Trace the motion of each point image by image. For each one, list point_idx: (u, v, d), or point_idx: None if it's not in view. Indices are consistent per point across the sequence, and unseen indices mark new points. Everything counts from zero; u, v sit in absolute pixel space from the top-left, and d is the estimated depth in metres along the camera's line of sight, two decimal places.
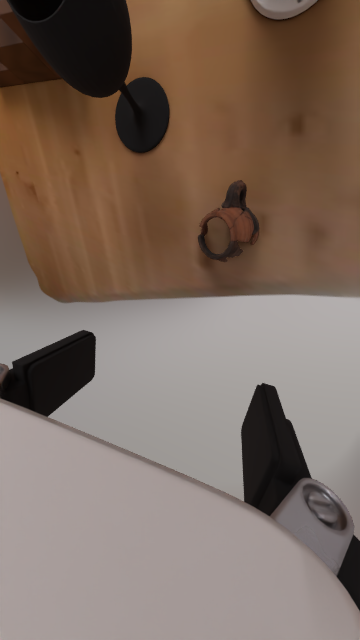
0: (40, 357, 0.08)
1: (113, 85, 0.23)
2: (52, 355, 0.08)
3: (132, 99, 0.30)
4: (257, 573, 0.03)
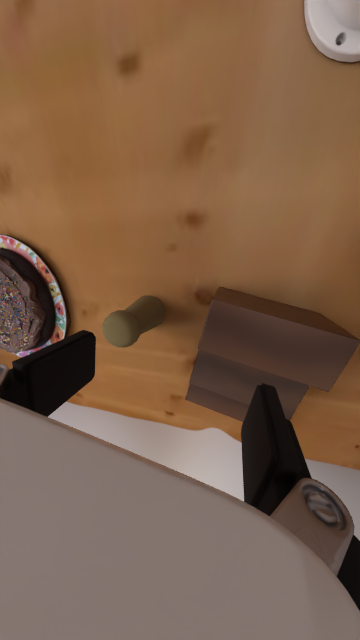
0: (40, 357, 0.08)
1: None
2: (52, 355, 0.08)
3: None
4: (257, 573, 0.03)
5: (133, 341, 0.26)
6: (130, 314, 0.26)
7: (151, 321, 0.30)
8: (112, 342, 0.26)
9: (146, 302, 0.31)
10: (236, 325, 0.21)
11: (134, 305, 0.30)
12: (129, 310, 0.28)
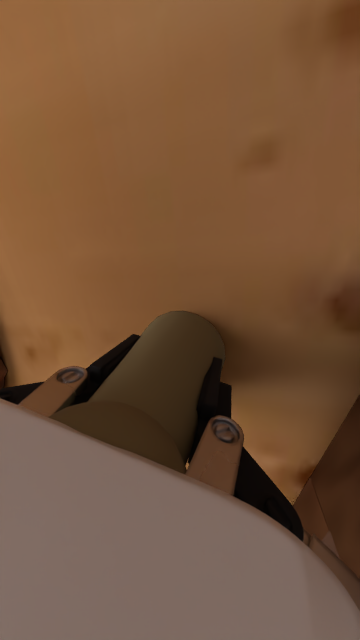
0: (110, 360, 0.08)
1: None
2: (118, 358, 0.09)
3: None
4: (257, 574, 0.03)
5: None
6: (136, 445, 0.04)
7: None
8: None
9: (183, 333, 0.10)
10: None
11: (147, 352, 0.08)
12: (129, 386, 0.06)
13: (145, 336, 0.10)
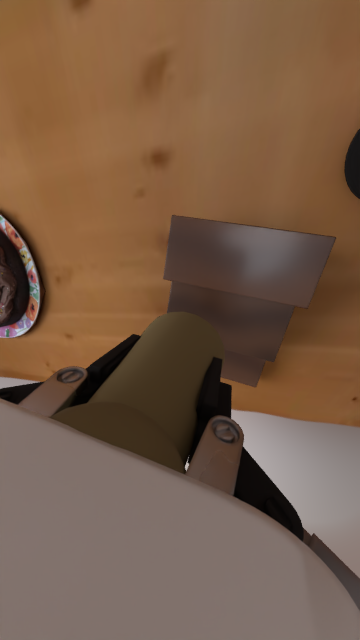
0: (111, 360, 0.08)
1: None
2: (118, 358, 0.09)
3: None
4: (257, 573, 0.03)
5: None
6: (135, 447, 0.04)
7: None
8: None
9: (182, 334, 0.10)
10: (200, 242, 0.19)
11: (146, 353, 0.08)
12: (129, 387, 0.06)
13: (145, 337, 0.10)
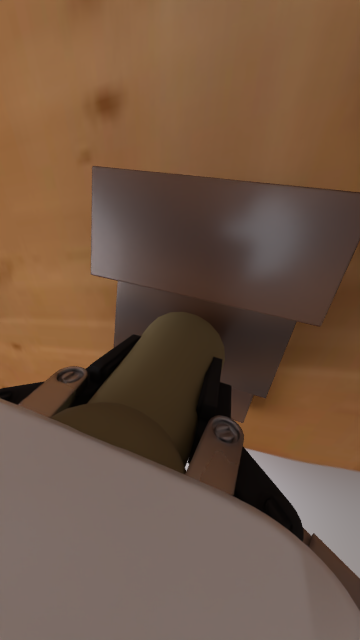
0: (111, 360, 0.08)
1: None
2: (118, 358, 0.09)
3: None
4: (257, 573, 0.03)
5: None
6: (135, 447, 0.04)
7: None
8: None
9: (182, 334, 0.10)
10: (140, 213, 0.11)
11: (146, 353, 0.08)
12: (129, 388, 0.06)
13: (145, 337, 0.10)
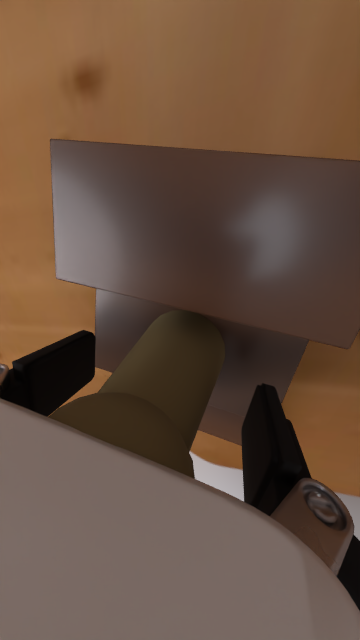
0: (40, 357, 0.08)
1: None
2: (52, 355, 0.08)
3: None
4: (257, 573, 0.03)
5: None
6: (145, 430, 0.05)
7: (209, 396, 0.09)
8: None
9: (185, 331, 0.10)
10: (112, 199, 0.09)
11: (151, 349, 0.09)
12: (136, 379, 0.07)
13: (148, 334, 0.11)
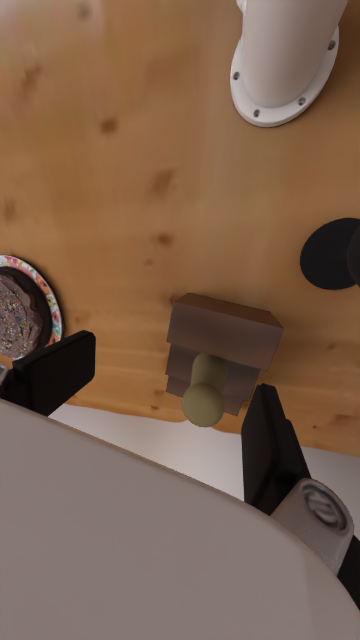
0: (40, 357, 0.08)
1: None
2: (52, 355, 0.08)
3: None
4: (257, 573, 0.03)
5: (219, 420, 0.23)
6: (214, 389, 0.23)
7: None
8: (195, 422, 0.23)
9: (214, 362, 0.29)
10: (193, 321, 0.27)
11: (205, 370, 0.27)
12: (205, 379, 0.25)
13: (201, 363, 0.29)
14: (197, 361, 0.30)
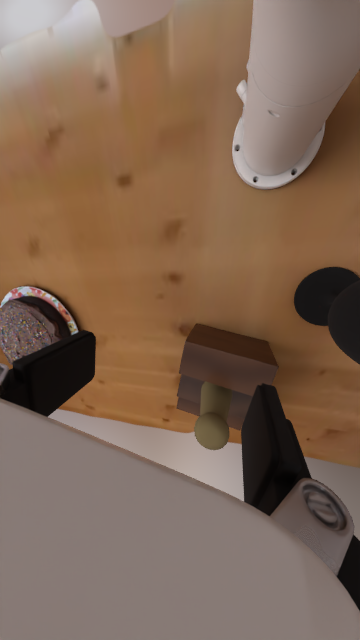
0: (40, 357, 0.08)
1: None
2: (52, 355, 0.08)
3: None
4: (257, 573, 0.03)
5: (225, 444, 0.28)
6: (221, 419, 0.28)
7: (228, 411, 0.33)
8: (205, 446, 0.28)
9: (220, 390, 0.34)
10: (202, 357, 0.32)
11: (213, 398, 0.32)
12: (213, 408, 0.30)
13: (209, 391, 0.34)
14: (205, 388, 0.35)
